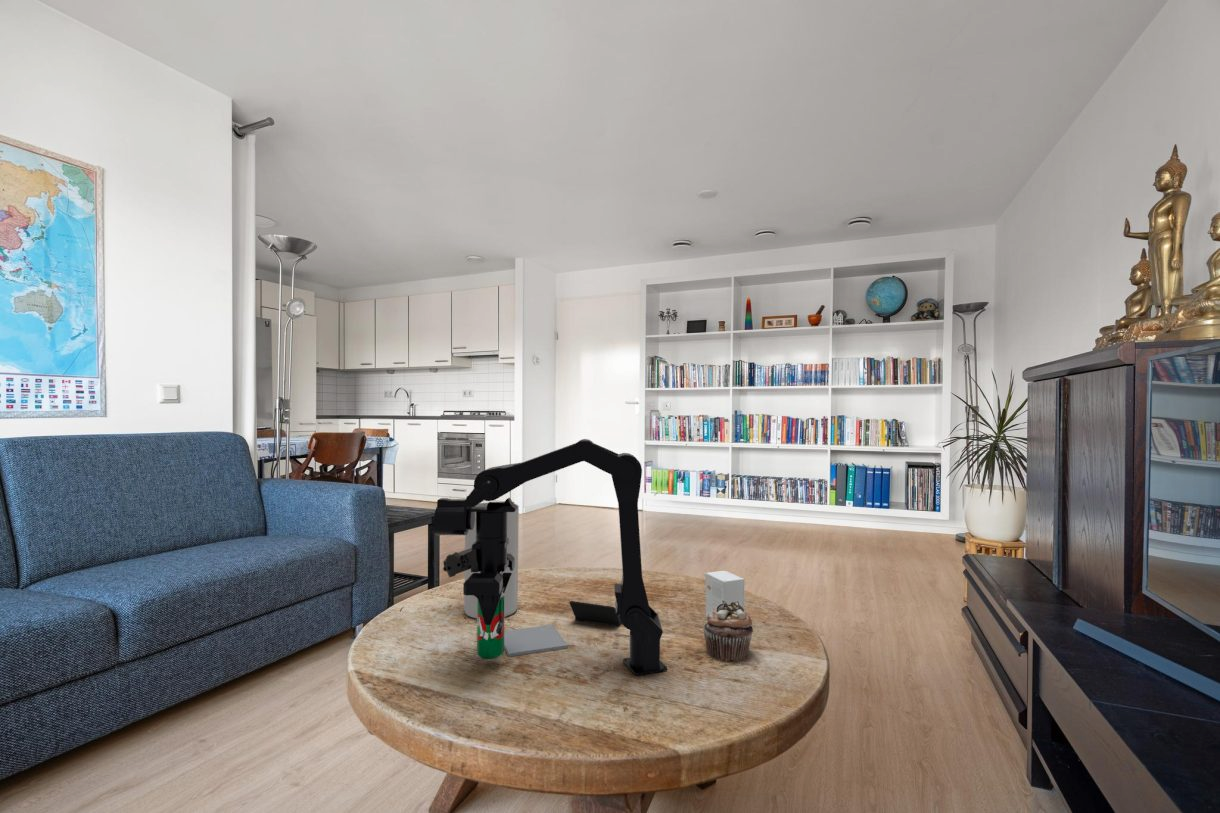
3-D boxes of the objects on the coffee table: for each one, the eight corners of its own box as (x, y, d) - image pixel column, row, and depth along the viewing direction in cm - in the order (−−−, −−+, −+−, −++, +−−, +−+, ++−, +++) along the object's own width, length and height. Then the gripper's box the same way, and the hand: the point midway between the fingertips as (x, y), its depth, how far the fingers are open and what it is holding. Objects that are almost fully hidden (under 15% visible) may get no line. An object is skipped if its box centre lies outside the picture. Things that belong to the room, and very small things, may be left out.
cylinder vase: (511, 600, 143) (512, 501, 144) (522, 616, 132) (523, 509, 132) (461, 605, 139) (462, 503, 139) (467, 623, 127) (468, 511, 128)
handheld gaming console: (628, 608, 134) (619, 582, 128) (627, 636, 128) (617, 610, 122) (582, 611, 136) (570, 585, 130) (578, 639, 130) (566, 613, 125)
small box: (745, 626, 127) (745, 578, 127) (723, 629, 125) (724, 581, 125) (725, 614, 134) (725, 569, 134) (704, 617, 132) (705, 572, 132)
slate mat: (568, 648, 114) (568, 645, 114) (508, 656, 110) (508, 653, 110) (552, 627, 125) (552, 624, 125) (497, 634, 121) (497, 631, 121)
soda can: (506, 649, 108) (506, 586, 108) (502, 660, 103) (502, 594, 103) (479, 649, 108) (480, 586, 108) (474, 660, 103) (474, 594, 103)
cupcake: (740, 642, 118) (740, 593, 118) (760, 661, 108) (760, 609, 108) (696, 644, 116) (696, 595, 117) (712, 665, 107) (712, 611, 107)
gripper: (460, 525, 115) (459, 602, 115) (433, 546, 96) (432, 638, 96) (515, 525, 115) (514, 602, 115) (499, 546, 97) (498, 638, 96)
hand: (490, 619), depth 106 cm, fingers closed on soda can, 5 cm apart
